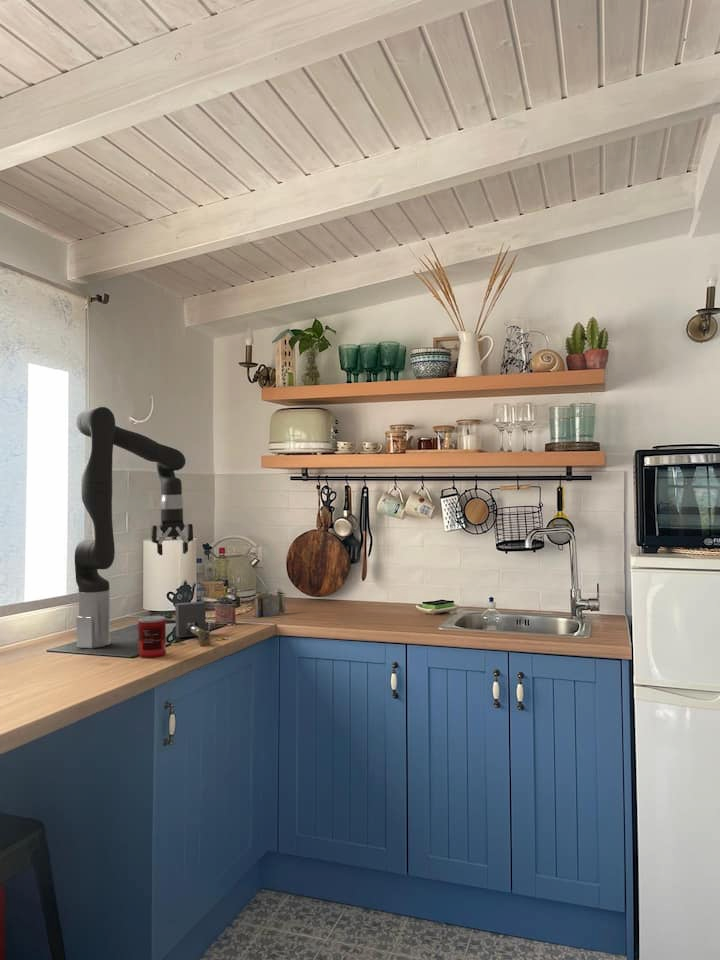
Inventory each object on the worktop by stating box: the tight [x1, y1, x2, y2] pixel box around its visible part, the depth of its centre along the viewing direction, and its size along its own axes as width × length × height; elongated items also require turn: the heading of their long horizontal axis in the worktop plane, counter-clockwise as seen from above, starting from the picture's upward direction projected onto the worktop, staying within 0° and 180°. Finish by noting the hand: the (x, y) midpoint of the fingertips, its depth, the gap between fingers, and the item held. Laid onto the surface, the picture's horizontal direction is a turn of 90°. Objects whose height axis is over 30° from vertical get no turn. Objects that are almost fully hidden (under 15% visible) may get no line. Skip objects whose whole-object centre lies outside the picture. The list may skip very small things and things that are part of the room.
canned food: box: [137, 615, 167, 659], centre depth 218 cm, size 8×8×11 cm
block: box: [174, 600, 207, 638], centre depth 245 cm, size 4×9×11 cm, turn 118°
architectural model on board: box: [254, 592, 286, 618], centre depth 284 cm, size 11×3×10 cm, turn 121°
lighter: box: [214, 596, 237, 626], centre depth 266 cm, size 8×3×10 cm, turn 74°
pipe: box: [170, 623, 226, 647], centre depth 240 cm, size 23×18×4 cm
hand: (172, 554), depth 258 cm, fingers open, 8 cm apart
